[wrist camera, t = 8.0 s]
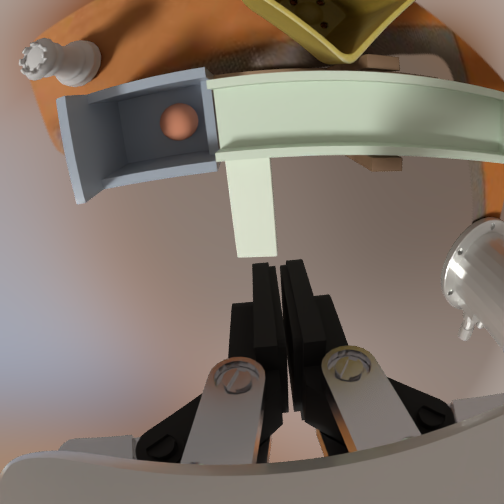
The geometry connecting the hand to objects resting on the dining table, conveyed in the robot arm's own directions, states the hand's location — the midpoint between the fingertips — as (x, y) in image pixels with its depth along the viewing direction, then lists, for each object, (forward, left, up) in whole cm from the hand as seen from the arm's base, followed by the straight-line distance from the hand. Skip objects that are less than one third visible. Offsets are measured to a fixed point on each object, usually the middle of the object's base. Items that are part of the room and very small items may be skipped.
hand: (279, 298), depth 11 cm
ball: (+6, +6, -16) cm, 18 cm away
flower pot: (+14, -6, -18) cm, 24 cm away
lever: (+2, -7, -9) cm, 12 cm away
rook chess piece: (+13, +14, -18) cm, 27 cm away
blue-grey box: (+6, +7, -18) cm, 20 cm away
